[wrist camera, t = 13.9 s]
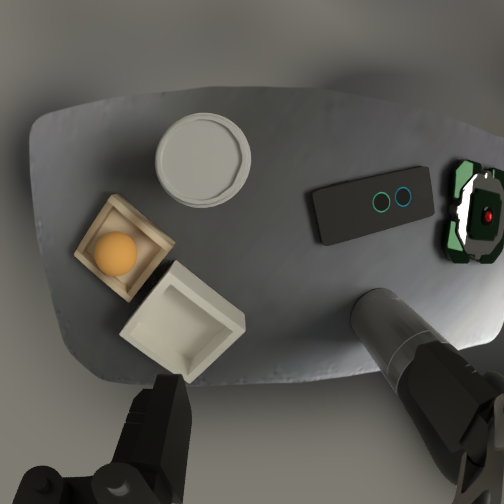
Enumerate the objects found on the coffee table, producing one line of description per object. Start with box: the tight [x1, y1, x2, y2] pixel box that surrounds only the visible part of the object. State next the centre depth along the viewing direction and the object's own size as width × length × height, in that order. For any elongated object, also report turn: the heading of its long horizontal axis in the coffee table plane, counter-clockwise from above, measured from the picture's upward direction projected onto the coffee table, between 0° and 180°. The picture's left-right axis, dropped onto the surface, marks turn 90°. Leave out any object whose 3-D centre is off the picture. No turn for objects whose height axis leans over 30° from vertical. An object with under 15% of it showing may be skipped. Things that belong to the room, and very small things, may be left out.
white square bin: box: [119, 260, 246, 384], centre depth 42 cm, size 13×13×5 cm
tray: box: [74, 193, 176, 302], centre depth 39 cm, size 11×11×2 cm
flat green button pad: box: [442, 159, 504, 264], centre depth 41 cm, size 18×18×5 cm
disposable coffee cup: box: [155, 113, 251, 208], centre depth 32 cm, size 10×10×12 cm
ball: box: [94, 231, 137, 276], centre depth 37 cm, size 6×6×6 cm
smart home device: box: [310, 166, 435, 246], centre depth 41 cm, size 8×2×20 cm
